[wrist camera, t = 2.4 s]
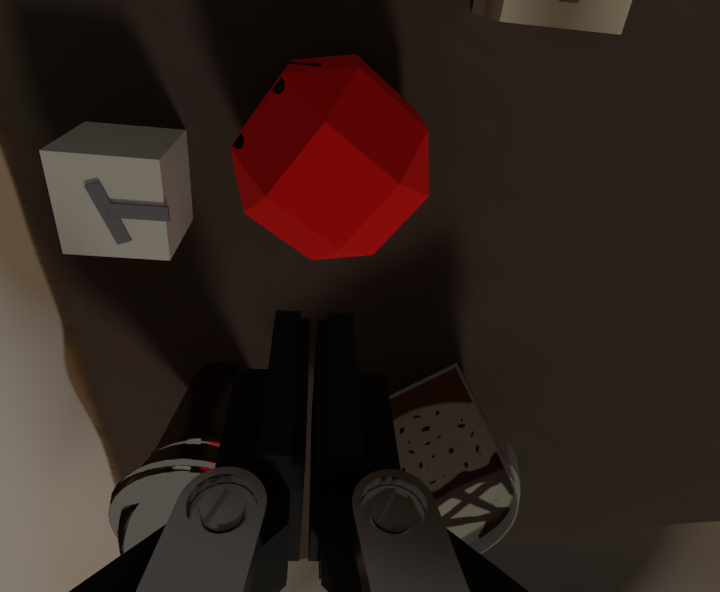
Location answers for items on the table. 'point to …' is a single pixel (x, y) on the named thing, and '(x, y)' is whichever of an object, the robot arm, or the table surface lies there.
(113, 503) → the cup with straw
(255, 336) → the table surface
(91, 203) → the off-white block numbered 7
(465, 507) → the food container
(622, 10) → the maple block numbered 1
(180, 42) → the table surface
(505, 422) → the table surface
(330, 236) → the ball
